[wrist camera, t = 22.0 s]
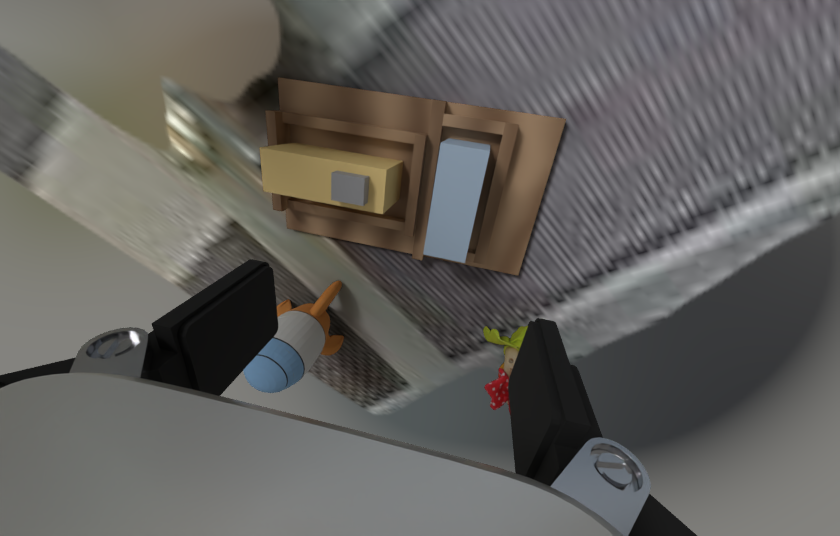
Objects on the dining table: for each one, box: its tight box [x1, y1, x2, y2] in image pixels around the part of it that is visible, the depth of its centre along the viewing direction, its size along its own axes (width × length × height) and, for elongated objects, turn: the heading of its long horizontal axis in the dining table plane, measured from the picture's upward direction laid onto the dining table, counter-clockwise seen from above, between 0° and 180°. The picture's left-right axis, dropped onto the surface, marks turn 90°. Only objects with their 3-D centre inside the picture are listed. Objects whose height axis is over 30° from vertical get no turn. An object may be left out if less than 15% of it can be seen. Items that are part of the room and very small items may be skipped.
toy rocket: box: [243, 281, 344, 393], centre depth 39 cm, size 10×11×15 cm
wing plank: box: [423, 138, 490, 263], centre depth 30 cm, size 4×10×6 cm, turn 172°
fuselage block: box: [260, 143, 403, 214], centre depth 31 cm, size 12×4×7 cm, turn 82°
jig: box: [265, 77, 566, 275], centre depth 33 cm, size 28×16×3 cm, turn 82°
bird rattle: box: [483, 326, 528, 412], centre depth 37 cm, size 6×11×9 cm
